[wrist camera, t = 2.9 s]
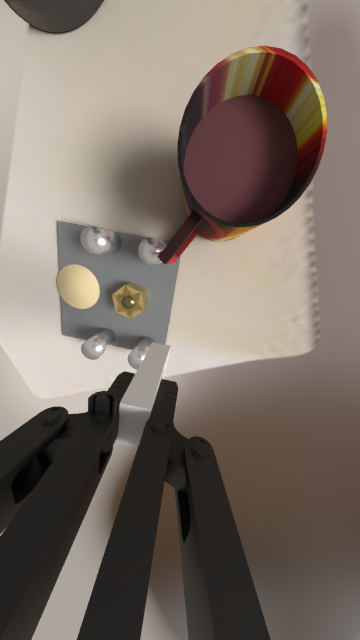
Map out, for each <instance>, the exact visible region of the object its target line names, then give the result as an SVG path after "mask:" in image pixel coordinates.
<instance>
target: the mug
mask: <svg viewBox="0 0 360 640" xmlns="http://www.w3.org/2000/svg"><path fill="white" fill-rule="evenodd" d="M326 134H327V113H326V107H325V101H324V96H323V94H322V91H321V88H320V86H319V83H318V81H317V79H316V78H315V77H314V75H313V73H312V72H311V70H310V69H309V67H308V66H307V65H306V64H305V63H303V62H302V61H301V60H300V59H299V58H298V57H297V56H296V55H293V54H291V53H289V52H287V51H285V50H283V49H281V48H275V47H269V46H259V47H250V48H246V49H244V50H241V51H238V52H236V53H233V54H231V55H230V56H228V57H227V58H225V59H224V60H222V61H221V62H219V63H218V64H216V65H215V66H214V67H213V68H212V69H211V70H210V71H209V72H208V73H207V74H206V75H205V76H204V78H203V79H202V80H201V82H200V83H199V85H198V86H197V88H196V89H195V90H194V92H193V94H192V96H191V98H190V100H189V102H188V104H187V106H186V108H185V111H184V115H183V118H182V122H181V125H180V130H179V138H178V164H179V170H180V176H181V182H182V188H183V194H184V200H185V206H186V212H187V216H188V218H187V219H186V221H185V222H184V223H183V225H182V226H181V227H180V228H179V230H178V231H177V232H176V234H175V235H174V236H173V238H172V239H171V240H170V242H169V243H168V244H167V246H166V247H165V248H164V250H163V251H162V252H161V253H160V254H159V255H158V257H157V258H159V259H160V260H161V261H162V262H163V263H164V264H172V263H174V262H175V261H176V260H177V259H178V258H179V257H180V255H181V254H182V253H183V252H184V250H185V249H186V248H187V247H188V245H189V244H190V243H191V242H192V240H193V239H194V238H195V236H196V235H197V234H198V233H199V234H200V235H202V236H203V237H205V238H207V239H210V240H214V241H227V240H231V239H234V238H236V237H238V236H240V235H242V234H244V233H246V232H248V231H250V230H252V229H254V228H256V227H258V226H260V225H262V224H264V223H266V222H268V221H270V220H272V219H274V218H276V217H278V216H279V215H280V214H282V213H283V212H285V211H286V210H288V209H289V208H290V207H291V206H292V205H293V204H294V203H295V202H296V201H297V200H298V199H299V198H300V197H301V195H302V194H303V192H304V191H305V190H306V188H307V187H308V186H309V184H310V182H311V181H312V179H313V177H314V175H315V173H316V171H317V169H318V166H319V163H320V160H321V158H322V155H323V152H324V146H325V141H326Z"/></svg>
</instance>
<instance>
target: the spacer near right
mask: <svg viewBox="0 0 360 640" xmlns="http://www.w3.org/2000/svg"><path fill="white" fill-rule="evenodd" d="M166 246H167V244H166V243H165V242H163V241H160V240H157V239H154V238H146V239H144V240H143V241H142V242H141V243H140V245H139V248H138V254H139V257H140V259H141V260H142V261H143V262H144V263H145V264H147V265H156V264H160V263H163V262H162V261H161V260H160V259H159V258H157V257H158V255H159V254H160V253H161V252H162V251H163V250H164V248H165V247H166Z"/></svg>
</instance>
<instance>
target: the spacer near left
mask: <svg viewBox="0 0 360 640" xmlns="http://www.w3.org/2000/svg"><path fill="white" fill-rule="evenodd" d="M80 240H81V244H82V246H83V248H84V249H85V250H86V251H87V252H89V253H91V254H115V253H117V252H119V251H120V249H121V245H122V242H121V239H120V237H119V235H118V234H116V233H115V232H112V231H108V230H105V229H101V228H97V227H93V226H89V227H86V228H85V229H83V231H82V233H81V236H80Z"/></svg>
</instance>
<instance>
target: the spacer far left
mask: <svg viewBox="0 0 360 640" xmlns="http://www.w3.org/2000/svg"><path fill="white" fill-rule="evenodd" d="M115 338H116V337H115V334H114V332H113V331H112V330H110V329H108V328H103V329H101V330H100V331H99V332H97V333H96V334H95V335H94V336H92V337H91V338H90V339H88V340H87V341H86V342H85V343H83V344H82V346H81V351H82V353H83V355H84V356H85V357H86V358H88V359H91V360H95V359H98V358H99V357H100V356H101V355H102V354H103V353H104V352H105V351H106V350H107V349H108V348H109V347H110V346H111V345H112V344H113V342H114V341H115Z"/></svg>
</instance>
